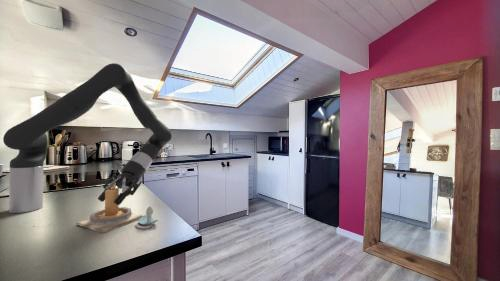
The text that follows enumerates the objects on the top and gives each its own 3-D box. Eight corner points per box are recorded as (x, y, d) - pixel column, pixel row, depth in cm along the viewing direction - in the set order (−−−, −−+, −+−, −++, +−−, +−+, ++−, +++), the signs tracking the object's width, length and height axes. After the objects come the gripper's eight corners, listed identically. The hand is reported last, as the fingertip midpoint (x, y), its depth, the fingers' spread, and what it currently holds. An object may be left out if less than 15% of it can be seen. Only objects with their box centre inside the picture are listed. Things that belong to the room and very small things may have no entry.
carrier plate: (76, 224, 70) (76, 216, 70) (117, 211, 83) (117, 204, 83) (103, 233, 64) (103, 223, 64) (142, 217, 77) (142, 209, 77)
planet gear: (93, 220, 72) (93, 191, 72) (114, 213, 79) (115, 186, 79) (107, 224, 69) (108, 194, 69) (128, 216, 76) (129, 189, 76)
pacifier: (143, 232, 66) (160, 225, 71) (142, 212, 66) (160, 207, 71) (131, 226, 71) (148, 220, 76) (131, 208, 70) (148, 203, 75)
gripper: (119, 158, 83) (87, 193, 73) (145, 160, 78) (114, 199, 67) (131, 170, 88) (102, 204, 77) (156, 173, 82) (128, 210, 72)
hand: (107, 202), depth 72 cm, fingers open, 8 cm apart
